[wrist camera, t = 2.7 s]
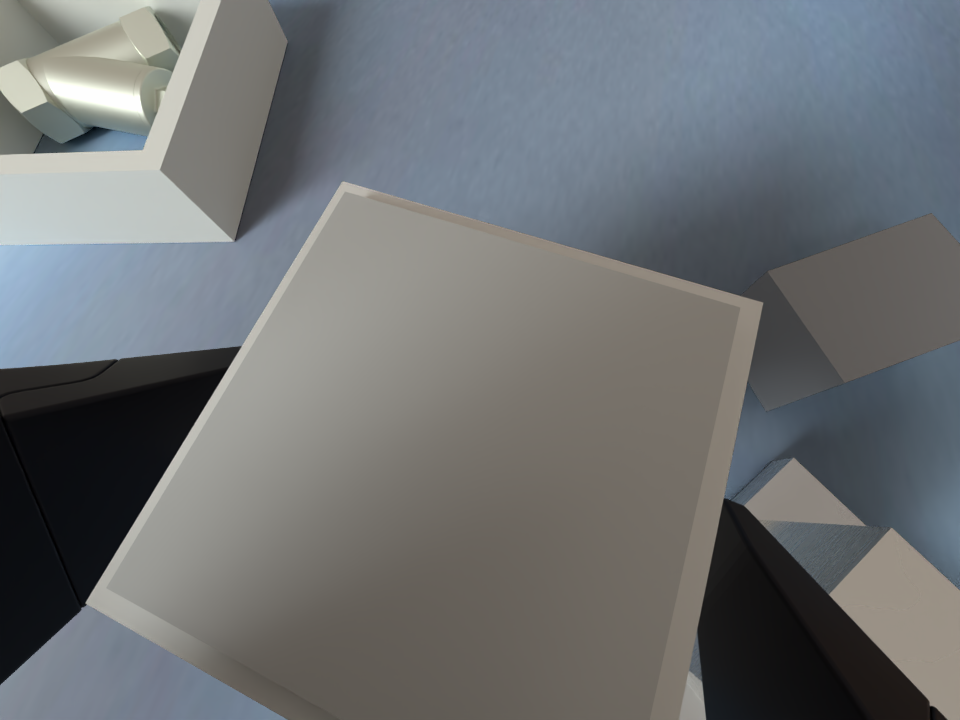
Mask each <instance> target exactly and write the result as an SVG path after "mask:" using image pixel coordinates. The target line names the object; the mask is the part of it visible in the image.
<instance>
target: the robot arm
mask: <svg viewBox="0 0 960 720" xmlns="http://www.w3.org/2000/svg"><path fill="white" fill-rule="evenodd" d="M241 347H242V346H239V347H229V348H220V349H210V350H200V351H191V352H181V353H171V354H162V355H152V356H142V357H133V358H123V359H120V360H119V361H118V360H117V359H113V360H103V361H93V362H83V363H72V364H61V365H49V366H35V367H22V368H7V369H0V685H1V684H2V683H3V682H4V681H5V680H6V679H7V678H8V677H9V676H11V675H12V674H13V673H14V672H15V671H16V670H17V669H18V668H19V667H20V666H21V665H22V664H24V663H25V662H26V661H27V660H28V659H29V658H30V657H31V656H32V655H33V654H34V653H35V652H37V651H38V650H39V649H40V648H41V647H42V646H43V645H44V644H45V643H46V642H47V641H48V640H50V639H51V638H52V637H53V636H54V635H55V634H56V633H57V632H58V631H59V630H60V629H61V628H63V627H64V626H65V625H66V624H67V623H68V622H69V621H70V620H71V619H72V618H73V617H74V616H76V615H77V614H78V613H79V612H80V611H81V607H85V606H86V605H87V604H86V601H87V599H88V598H89V596H90V595H91V593H92V591H93V590H94V588H95V586H96V585H97V583H98V581H99V580H100V578H101V577H102V575H103V573H104V572H105V570H106V568H107V567H108V565H109V563H110V562H111V560H112V558H113V557H114V555H115V554H116V552H117V550H118V549H119V547H120V545H121V544H122V542H123V540H124V539H125V537H126V536H127V534H128V532H129V531H130V529H131V527H132V526H133V524H134V522H135V521H136V519H137V518H138V516H139V514H140V513H141V511H142V509H143V508H144V506H145V504H146V503H147V501H148V499H149V498H150V496H151V495H152V493H153V491H154V490H155V488H156V486H157V485H158V483H159V481H160V480H161V478H162V477H163V475H164V473H165V472H166V470H167V468H168V467H169V465H170V463H171V462H172V460H173V459H174V457H175V455H176V454H177V452H178V450H179V449H180V447H181V445H182V444H183V442H184V440H185V439H186V437H187V436H188V434H189V432H190V431H191V429H192V427H193V426H194V424H195V422H196V421H197V419H198V418H199V416H200V414H201V413H202V411H203V409H204V408H205V406H206V404H207V403H208V401H209V400H210V398H211V396H212V395H213V393H214V391H215V390H216V388H217V386H218V385H219V383H220V382H221V380H222V378H223V377H224V375H225V373H226V372H227V370H228V368H229V367H230V365H231V363H232V362H233V360H234V359H235V357H236V355H237V354H238V352H239V350H240V349H241ZM697 636H698V646H699V656H700V666H701V676H702V685H703V695H704V705H705V715H706V720H947V718H946V717H945V716H944V715H943V714H942V713H941V712H940V711H939V710H938V709H937V708H936V707H934V706H930V702H929V700H928V699H927V698H926V696H925V695H924V694H923V693H922V692H921V691H920V690H919V689H918V688H917V687H916V686H915V685H914V684H913V683H912V682H911V681H910V680H909V679H908V677H907V676H906V675H905V674H904V673H903V672H902V671H901V670H900V669H899V668H898V667H897V666H896V665H895V664H894V663H893V662H892V661H891V660H890V659H889V657H888V656H887V655H886V654H885V653H884V652H883V651H882V650H881V649H880V648H879V647H878V646H877V645H876V644H875V643H874V642H873V641H872V640H871V639H870V637H869V636H868V635H867V634H866V633H865V632H864V631H863V630H862V629H861V628H860V627H859V626H858V625H857V624H856V623H855V622H854V621H853V620H852V618H851V617H850V616H849V615H848V614H847V613H846V612H845V611H844V610H843V609H842V608H841V607H840V606H839V605H838V604H837V603H836V602H835V601H834V600H833V598H832V597H831V596H830V595H829V594H828V593H827V592H826V591H825V590H824V589H823V588H822V587H821V586H820V585H819V584H818V583H817V582H816V581H815V580H814V578H813V577H812V576H811V575H810V574H809V573H808V572H807V571H806V570H805V569H804V568H803V567H802V566H801V565H800V564H799V563H798V562H797V561H796V559H795V558H794V557H793V556H792V555H791V554H790V553H789V552H788V551H787V550H786V549H785V548H784V547H783V546H782V545H781V544H780V543H779V542H778V540H777V539H776V538H775V537H774V536H773V535H772V534H771V533H770V532H769V531H768V530H767V529H766V528H765V527H764V526H763V525H762V524H761V523H760V522H759V520H758V519H757V518H756V517H755V516H754V515H753V514H752V513H751V512H750V511H749V510H748V509H747V508H746V507H745V506H744V505H742V504H739V503H736V502H734V501H731V500H728V499H726V498H724V499H723V504H722V509H721V514H720V519H719V524H718V529H717V534H716V539H715V544H714V549H713V554H712V559H711V564H710V569H709V573H708V578H707V583H706V588H705V593H704V598H703V603H702V608H701V613H700V618H699V623H698V628H697Z"/></svg>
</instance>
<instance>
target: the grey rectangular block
mask: <svg viewBox="0 0 960 720" xmlns="http://www.w3.org/2000/svg"><path fill="white" fill-rule="evenodd" d="M740 296H742V297H745V298H749V299H752V300H756V301H759V302H763V306H762V311H761V316H760V321H759V326H758V331H757V336H756V341H755V346H754V351H753V356H752V361H751V366H750V371H749V376H748V383H749V384H750V386H751V388H752V389H753V391H754V393H755V394H756V396H757V397H758V399H759V401H760V402H761V404H762V406H763V407H764V409H765V411H766V412H767V411H770V410H772V409H775V408H778V407H781V406H783V405H786V404H789V403H792V402H794V401H797V400H800V399H803V398H805V397H808V396H811V395H814V394H816V393H819V392H822V391H825V390H827V389H830V388H833V387H836V386H838V385H841V384H844V383H847V382H849V381H852V380H855V379H857V378H860V377H863V376H865V375H868V374H871V373H873V372H876V371H879V370H881V369H884V368H887V367H889V366H892V365H895V364H897V363H900V362H903V361H905V360H908V359H911V358H913V357H916V356H919V355H921V354H924V353H927V352H929V351H932V350H935V349H938V348H940V347H943V346H946V345H948V344H951V343H954V342H956V341H959V340H960V244H959V243H958V242H957V240H956V239H955V238H954V237H953V236H952V235H951V234H950V233H949V232H948V231H947V230H946V228H945V227H944V226H943V225H942V224H941V223H940V222H939V221H938V220H937V219H936V217H935V216H934V215H933V214H932V213H931V214H928V215H925V216H922V217H919V218H917V219H914V220H911V221H908V222H905V223H902V224H900V225H897V226H894V227H891V228H888V229H885V230H883V231H880V232H877V233H874V234H871V235H868V236H866V237H863V238H860V239H857V240H854V241H852V242H849V243H846V244H843V245H840V246H837V247H835V248H832V249H829V250H826V251H823V252H820V253H818V254H815V255H812V256H809V257H806V258H803V259H801V260H798V261H795V262H792V263H789V264H787V265H784V266H781V267H778V268H775V269H772V270H770V271H767V272H766V273H765V274H764V275H763V276H762V277H760V278H759V279H758V280H757V281H756V282H755V283H754V284H753V285H752V286H750V287H749V288H748V289H747V290H746V291H745V292H744V293H743V294H742V295H740Z"/></svg>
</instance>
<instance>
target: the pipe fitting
mask: <svg viewBox="0 0 960 720" xmlns="http://www.w3.org/2000/svg"><path fill="white" fill-rule="evenodd" d="M181 50H182V49H181V47H180V46H179V44H178V43H177V41H176V40H175V38H174V37H173V35H172V34H171V33H170V31H169V30H168V28H167V27H166V26H165V24H164V23H163V21H162V20H161V19H160V17H159V16H158V15H157V14H156V12H155V11H154V10H153V9H152V8H151V7H150V6H147V7H143V8H141V9H138V10H136V11H134V12H131V13H129V14H126V15H124V16H122V17H119V21H117V22H115V23H112V24H110V25H107V26H105V27H103V28H100V29H98V30H95V31H93V32H91V33H88V34H86V35H83V36H81V37H79V38H76V39H74V40H71V41H69V42H67V43H64V44H62V45H60V46H57V47H55V48H53V49H50V50H48V51H45V52H43V53H41V54H38V55H36V56H34V57H31V58H30V57H28V58H23V59H20V60H17V61H14V62H12V63H10V64H7V65H5V66H2V67H0V91H1V92H2V93H3V95H4V96H5V97H6V98H7V100H8V101H9V102H10V103H11V104H12V105H13V106H14V108H15V109H16V110H17V111H18V112H19V113H20V114H21V115H22V116H23V117H24V118H25V119H27V120H28V121H29V122H30V123H31V124H32V125H33V126H35V127H36V128H37V129H38V130H40V131H41V132H42V133H44V134H45V135H47V136H48V137H50V138H52V139H53V140H55V141H57V142H59V143H61V144H62V143H64V142H66V141H69V140H71V139H73V138H75V137H78V136H80V135H82V134H84V133H86V132H87V131H89V130H90V129H92V127H94V126H96V127H101V128H106V129H111V130H116V131H121V132H127V133H132V134H137V135H142V136H147V137H148V135H149V133H150V130H151V128H152V125H153V122H154V120H155V117H156V115H157V112H158V110H159V107H160V104H161V102H162V99H163V97H164V94H165V91H166V89H167V86H168V84H169V81H170V79H171V76H172V73H173V71H174V68H175V66H176V63H177V60H178V58H179V55H180V53H181Z"/></svg>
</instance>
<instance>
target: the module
mask: <svg viewBox="0 0 960 720" xmlns="http://www.w3.org/2000/svg"><path fill="white" fill-rule="evenodd" d="M762 306H763V302H759V301H756V300H752V299H749V298H745V297H742V296H738V295H735V294H731V293H728V292H725V291H721V290H718V289H714V288H711V287H707V286H704V285H700V284H697V283H693V282H690V281H686V280H683V279H679V278H676V277H673V276H669V275H666V274H662V273H659V272H655V271H652V270H648V269H645V268H641V267H638V266H634V265H631V264H627V263H624V262H621V261H617V260H614V259H610V258H607V257H603V256H600V255H596V254H593V253H589V252H586V251H582V250H579V249H575V248H572V247H569V246H565V245H562V244H558V243H555V242H551V241H548V240H544V239H541V238H537V237H534V236H530V235H527V234H523V233H520V232H517V231H513V230H510V229H506V228H503V227H499V226H496V225H492V224H489V223H485V222H482V221H478V220H475V219H471V218H468V217H465V216H461V215H458V214H454V213H451V212H447V211H444V210H440V209H437V208H433V207H430V206H426V205H423V204H419V203H416V202H413V201H409V200H406V199H402V198H399V197H395V196H392V195H388V194H385V193H381V192H378V191H374V190H371V189H367V188H364V187H361V186H357V185H354V184H350V183H347V182H342V183H341V185H340V186H339V188H338V190H337V191H336V193H335V195H334V196H333V198H332V200H331V201H330V203H329V205H328V206H327V208H326V209H325V211H324V213H323V214H322V216H321V218H320V219H319V221H318V223H317V224H316V226H315V227H314V229H313V231H312V232H311V234H310V236H309V237H308V239H307V241H306V242H305V244H304V245H303V247H302V249H301V250H300V252H299V254H298V255H297V257H296V259H295V260H294V262H293V264H292V265H291V267H290V268H289V270H288V272H287V273H286V275H285V277H284V278H283V280H282V282H281V283H280V285H279V286H278V288H277V290H276V291H275V293H274V295H273V296H272V298H271V300H270V301H269V303H268V304H267V306H266V308H265V309H264V311H263V313H262V314H261V316H260V318H259V319H258V321H257V323H256V324H255V326H254V327H253V329H252V331H251V332H250V334H249V336H248V337H247V339H246V341H245V342H244V344H243V345H242V347H241V349H240V350H239V352H238V354H237V355H236V357H235V359H234V360H233V362H232V363H231V365H230V367H229V368H228V370H227V372H226V373H225V375H224V377H223V378H222V380H221V382H220V383H219V385H218V386H217V388H216V390H215V391H214V393H213V395H212V396H211V398H210V400H209V401H208V403H207V404H206V406H205V408H204V409H203V411H202V413H201V414H200V416H199V418H198V419H197V421H196V422H195V424H194V426H193V427H192V429H191V431H190V432H189V434H188V436H187V437H186V439H185V440H184V442H183V444H182V445H181V447H180V449H179V450H178V452H177V454H176V455H175V457H174V459H173V460H172V462H171V463H170V465H169V467H168V468H167V470H166V472H165V473H164V475H163V477H162V478H161V480H160V481H159V483H158V485H157V486H156V488H155V490H154V491H153V493H152V495H151V496H150V498H149V499H148V501H147V503H146V504H145V506H144V508H143V509H142V511H141V513H140V514H139V516H138V518H137V519H136V521H135V522H134V524H133V526H132V527H131V529H130V531H129V532H128V534H127V536H126V537H125V539H124V540H123V542H122V544H121V545H120V547H119V549H118V550H117V552H116V554H115V555H114V557H113V558H112V560H111V562H110V563H109V565H108V567H107V568H106V570H105V572H104V573H103V575H102V577H101V578H100V580H99V581H98V583H97V585H96V586H95V588H94V590H93V591H92V593H91V595H90V596H89V598H88V599H87V601H86V604H87V605H89V606H91V607H93V608H94V609H96V610H98V611H100V612H101V613H103V614H105V615H107V616H108V617H110V618H112V619H114V620H115V621H117V622H119V623H121V624H122V625H124V626H126V627H127V628H129V629H131V630H133V631H134V632H136V633H138V634H140V635H141V636H143V637H145V638H147V639H148V640H150V641H152V642H154V643H155V644H157V645H159V646H161V647H162V648H164V649H166V650H168V651H169V652H171V653H173V654H175V655H176V656H178V657H180V658H181V659H183V660H185V661H187V662H188V663H190V664H192V665H194V666H195V667H197V668H199V669H201V670H202V671H204V672H206V673H208V674H209V675H211V676H213V677H215V678H216V679H218V680H220V681H222V682H223V683H225V684H227V685H229V686H230V687H232V688H234V689H235V690H237V691H239V692H241V693H242V694H244V695H246V696H248V697H249V698H251V699H253V700H255V701H256V702H258V703H260V704H262V705H263V706H265V707H267V708H269V709H270V710H272V711H274V712H276V713H277V714H279V715H281V716H283V717H284V718H286V719H288V720H679V717H680V712H681V707H682V702H683V697H684V692H685V687H686V682H687V677H688V672H689V667H690V662H691V658H692V653H693V648H694V643H695V638H696V633H697V628H698V623H699V618H700V613H701V608H702V603H703V598H704V593H705V588H706V583H707V578H708V573H709V569H710V564H711V559H712V554H713V549H714V544H715V539H716V534H717V529H718V524H719V519H720V514H721V509H722V504H723V499H724V494H725V489H726V484H727V480H728V475H729V470H730V465H731V460H732V455H733V450H734V445H735V440H736V435H737V430H738V425H739V420H740V415H741V410H742V405H743V400H744V395H745V391H746V386H747V381H748V376H749V371H750V366H751V361H752V356H753V351H754V346H755V341H756V336H757V331H758V326H759V321H760V316H761V311H762Z"/></svg>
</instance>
